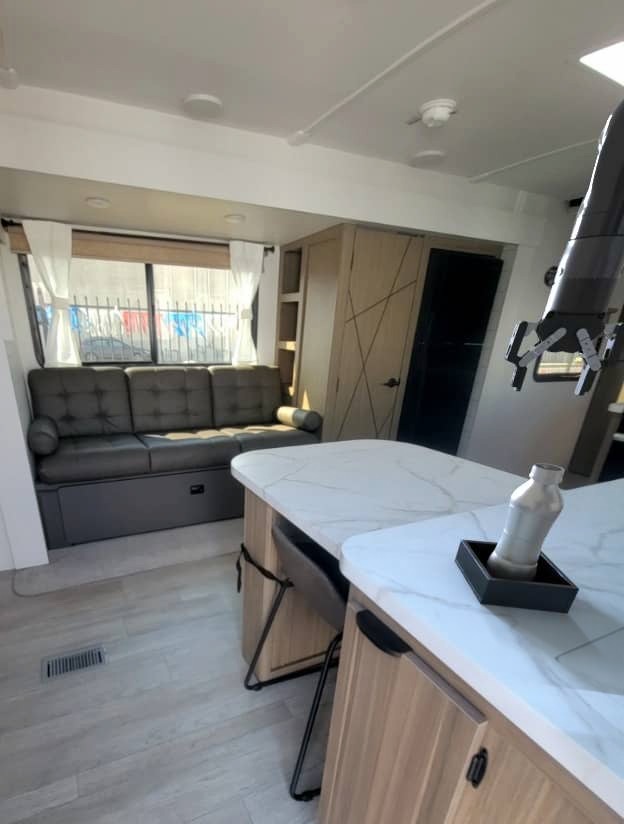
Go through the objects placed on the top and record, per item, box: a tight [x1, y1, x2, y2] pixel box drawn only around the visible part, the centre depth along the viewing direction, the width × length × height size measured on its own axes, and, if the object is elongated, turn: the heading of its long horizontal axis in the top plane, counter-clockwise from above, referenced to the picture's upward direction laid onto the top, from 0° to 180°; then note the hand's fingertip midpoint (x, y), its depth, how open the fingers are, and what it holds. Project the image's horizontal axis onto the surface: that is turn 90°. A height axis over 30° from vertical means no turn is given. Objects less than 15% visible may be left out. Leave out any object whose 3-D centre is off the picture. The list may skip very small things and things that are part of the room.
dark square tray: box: [454, 539, 580, 614], centre depth 66 cm, size 12×12×4 cm
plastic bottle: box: [486, 462, 565, 582], centre depth 63 cm, size 6×7×20 cm
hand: (546, 392), depth 65 cm, fingers open, 8 cm apart
